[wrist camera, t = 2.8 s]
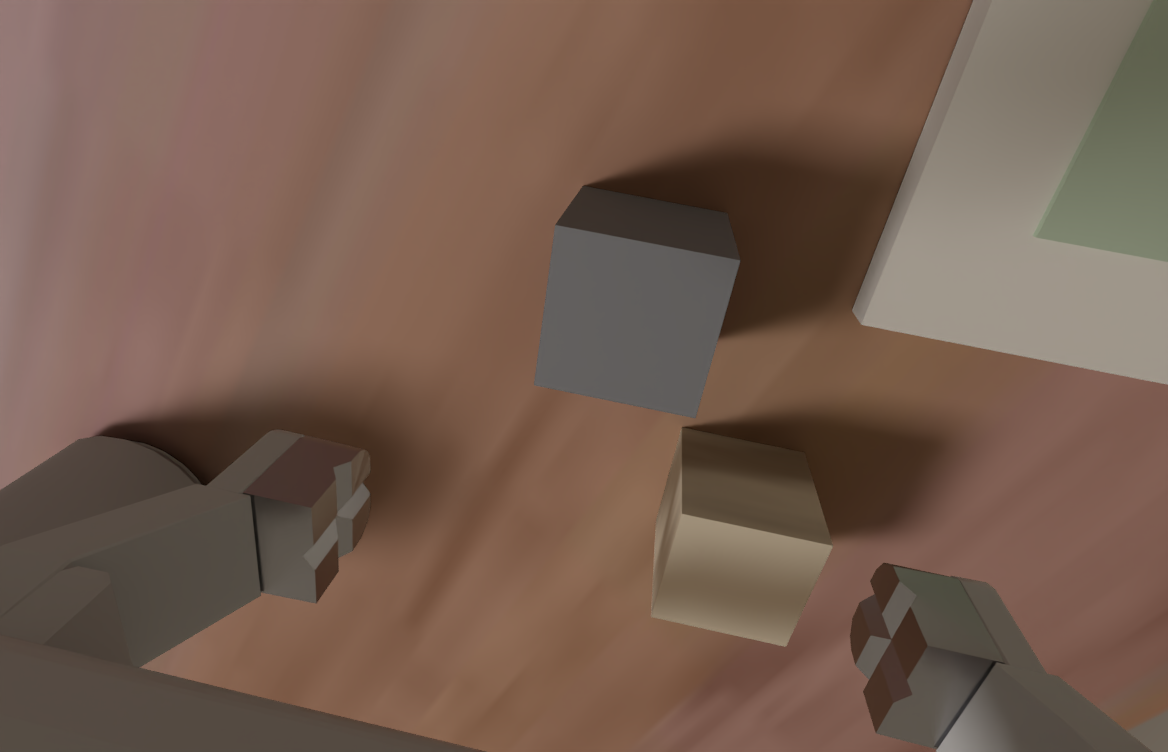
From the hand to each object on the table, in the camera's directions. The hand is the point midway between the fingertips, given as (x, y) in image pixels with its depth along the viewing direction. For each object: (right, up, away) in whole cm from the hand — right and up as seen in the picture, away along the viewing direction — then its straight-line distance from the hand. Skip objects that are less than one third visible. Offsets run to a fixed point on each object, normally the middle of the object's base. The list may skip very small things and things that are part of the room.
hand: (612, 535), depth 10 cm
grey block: (+1, +6, +11) cm, 13 cm away
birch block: (+5, -2, +14) cm, 15 cm away
